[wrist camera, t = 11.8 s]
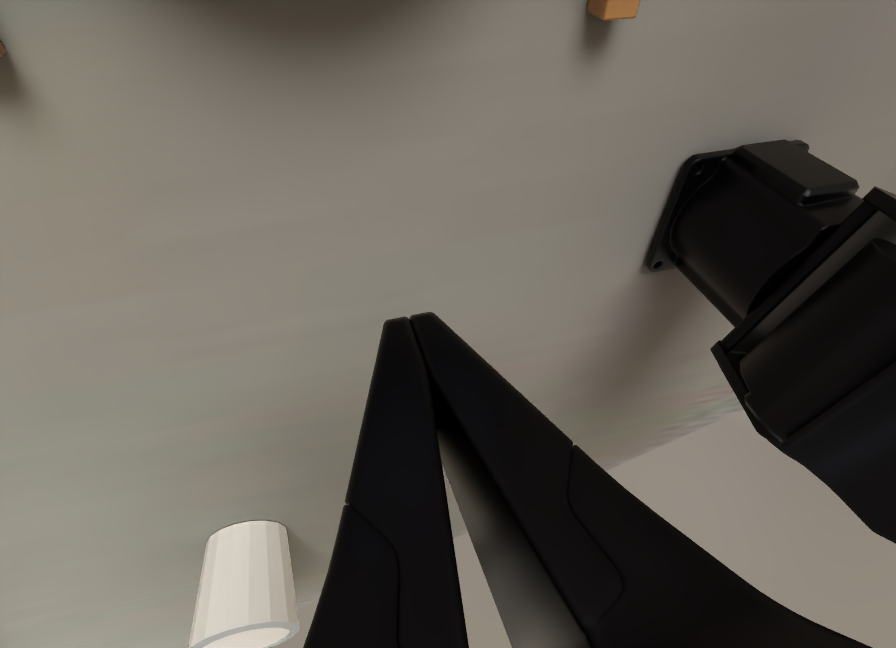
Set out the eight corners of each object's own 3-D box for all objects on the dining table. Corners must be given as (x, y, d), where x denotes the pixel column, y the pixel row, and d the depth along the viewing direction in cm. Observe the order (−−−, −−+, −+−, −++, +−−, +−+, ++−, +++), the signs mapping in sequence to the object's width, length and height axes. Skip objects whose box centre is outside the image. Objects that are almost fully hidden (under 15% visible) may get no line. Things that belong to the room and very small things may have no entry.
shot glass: (174, 547, 34) (160, 661, 29) (251, 507, 33) (249, 619, 28) (245, 563, 39) (243, 663, 34) (313, 529, 38) (320, 627, 33)
